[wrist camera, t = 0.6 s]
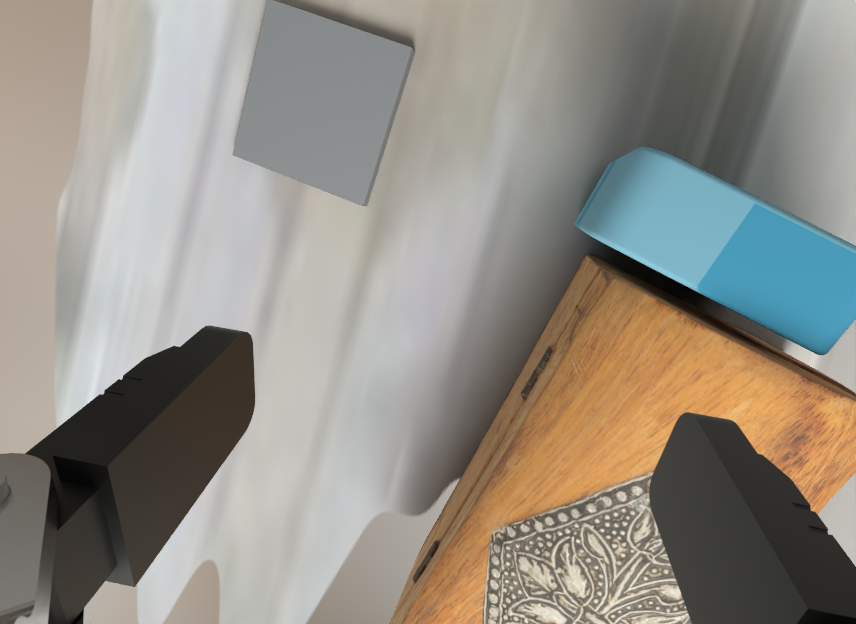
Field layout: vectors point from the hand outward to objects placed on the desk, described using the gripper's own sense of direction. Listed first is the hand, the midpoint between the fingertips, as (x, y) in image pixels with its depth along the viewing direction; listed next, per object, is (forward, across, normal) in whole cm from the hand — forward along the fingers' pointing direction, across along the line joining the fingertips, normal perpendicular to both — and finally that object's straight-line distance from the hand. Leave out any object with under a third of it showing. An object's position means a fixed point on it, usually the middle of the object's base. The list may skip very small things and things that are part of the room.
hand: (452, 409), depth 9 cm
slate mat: (+30, +12, -2) cm, 32 cm away
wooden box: (+22, -11, +20) cm, 32 cm away
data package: (+26, -13, +2) cm, 29 cm away
